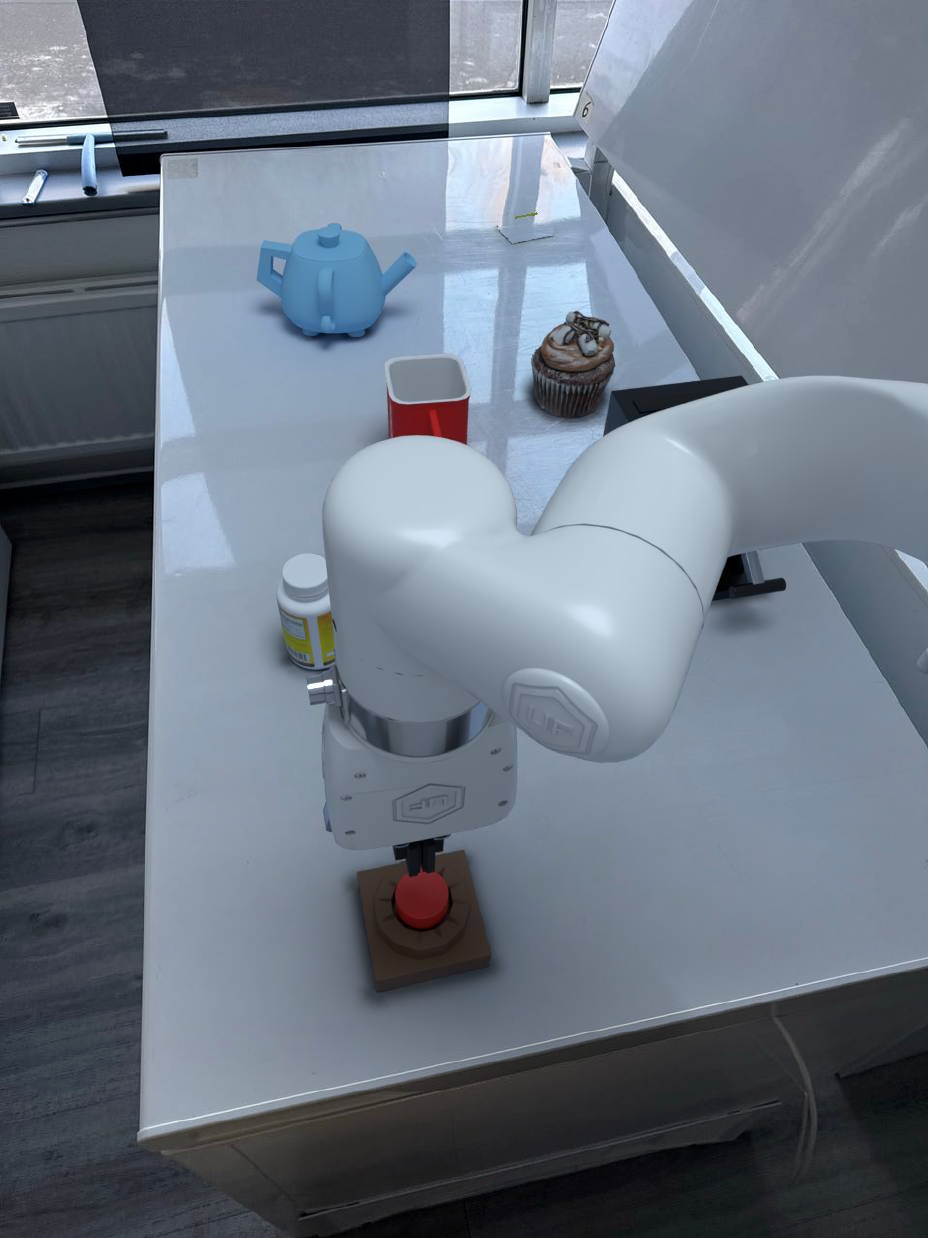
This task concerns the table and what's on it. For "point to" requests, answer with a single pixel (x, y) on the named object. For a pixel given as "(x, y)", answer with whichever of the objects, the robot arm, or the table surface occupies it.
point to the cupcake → (573, 366)
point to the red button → (422, 899)
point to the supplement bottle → (306, 611)
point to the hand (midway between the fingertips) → (417, 853)
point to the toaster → (662, 398)
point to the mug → (428, 396)
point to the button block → (422, 951)
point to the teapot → (330, 280)
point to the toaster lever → (755, 579)
